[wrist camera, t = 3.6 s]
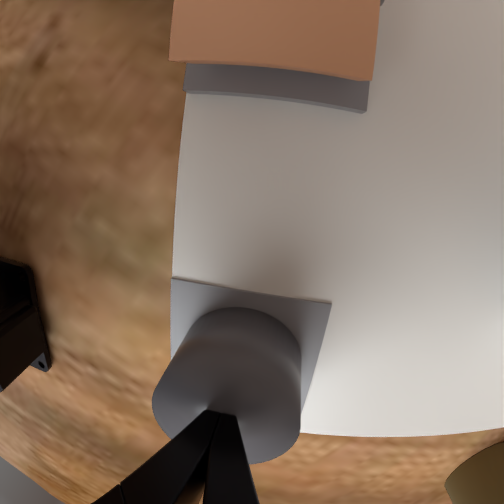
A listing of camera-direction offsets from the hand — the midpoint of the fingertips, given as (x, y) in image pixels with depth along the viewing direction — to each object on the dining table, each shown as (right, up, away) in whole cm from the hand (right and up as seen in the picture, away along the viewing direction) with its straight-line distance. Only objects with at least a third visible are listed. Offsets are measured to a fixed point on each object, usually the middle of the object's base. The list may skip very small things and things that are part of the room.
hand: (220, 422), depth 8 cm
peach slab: (+1, +10, -3) cm, 11 cm away
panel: (+8, +6, +3) cm, 10 cm away
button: (0, +1, +3) cm, 3 cm away
